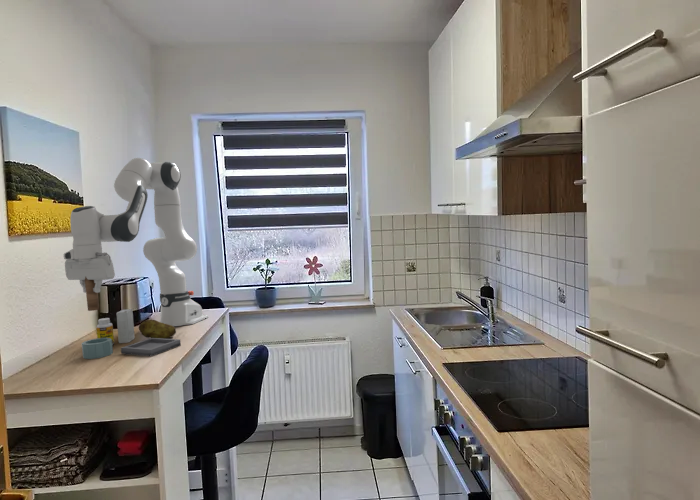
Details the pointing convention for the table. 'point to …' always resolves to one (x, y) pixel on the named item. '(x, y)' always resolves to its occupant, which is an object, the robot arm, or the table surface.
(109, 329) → the supplement bottle
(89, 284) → the dowel
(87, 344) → the tube
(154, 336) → the potato
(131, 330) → the skincare box
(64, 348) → the table surface
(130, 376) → the table surface
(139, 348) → the tray
